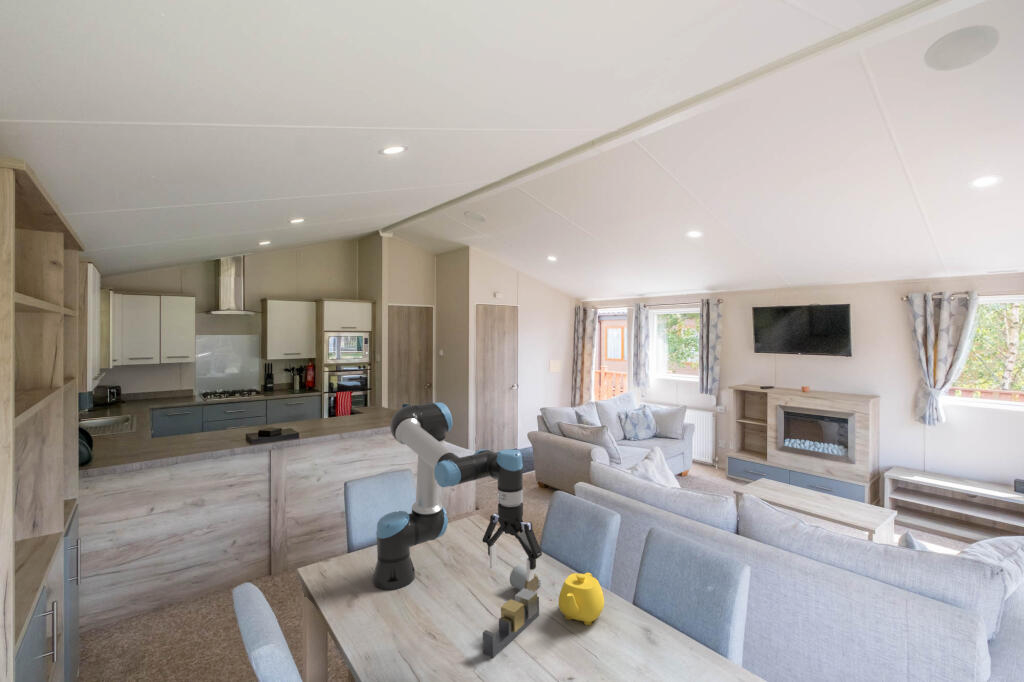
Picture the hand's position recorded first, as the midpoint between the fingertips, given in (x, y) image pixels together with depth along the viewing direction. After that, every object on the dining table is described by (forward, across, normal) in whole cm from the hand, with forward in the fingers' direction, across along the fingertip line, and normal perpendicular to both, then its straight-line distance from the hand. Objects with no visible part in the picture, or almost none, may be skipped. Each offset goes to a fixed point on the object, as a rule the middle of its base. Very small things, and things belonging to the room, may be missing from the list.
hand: (511, 572), depth 143 cm
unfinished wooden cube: (+16, 0, 0) cm, 16 cm away
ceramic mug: (+19, -10, +23) cm, 31 cm away
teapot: (+19, +13, +18) cm, 29 cm away
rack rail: (+18, 0, 0) cm, 18 cm away
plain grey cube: (+16, 0, +8) cm, 18 cm away
